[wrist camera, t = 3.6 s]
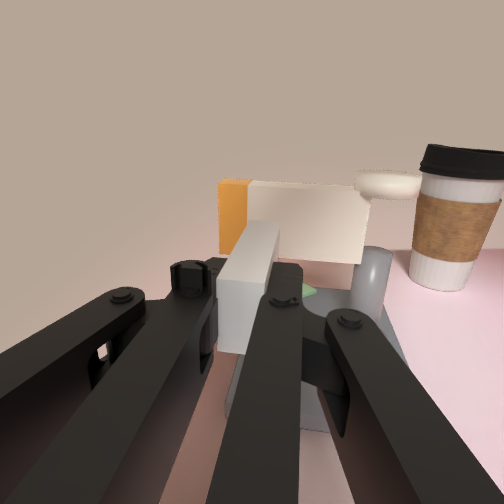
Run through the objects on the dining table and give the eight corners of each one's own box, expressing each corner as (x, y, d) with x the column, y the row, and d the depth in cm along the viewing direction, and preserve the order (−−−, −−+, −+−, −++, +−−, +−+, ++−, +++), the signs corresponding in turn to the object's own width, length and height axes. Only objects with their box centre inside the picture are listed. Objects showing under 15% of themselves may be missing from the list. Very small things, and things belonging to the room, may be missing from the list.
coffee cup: (390, 262, 43) (414, 142, 38) (459, 267, 42) (495, 144, 36) (407, 293, 36) (440, 148, 30) (492, 301, 34) (544, 151, 29)
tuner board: (373, 296, 35) (376, 283, 34) (430, 447, 19) (436, 428, 18) (261, 285, 36) (261, 273, 36) (225, 417, 20) (225, 398, 20)
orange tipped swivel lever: (381, 322, 28) (411, 171, 23) (392, 354, 24) (432, 181, 19) (228, 307, 29) (227, 163, 25) (217, 334, 26) (214, 171, 21)
